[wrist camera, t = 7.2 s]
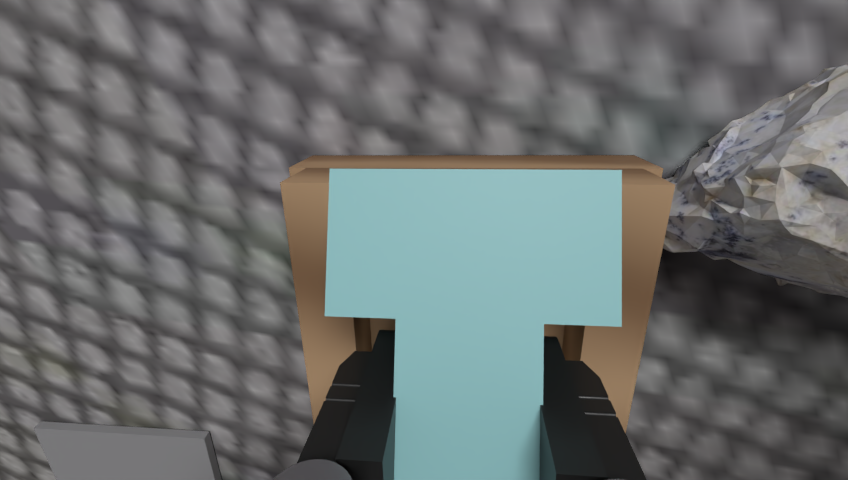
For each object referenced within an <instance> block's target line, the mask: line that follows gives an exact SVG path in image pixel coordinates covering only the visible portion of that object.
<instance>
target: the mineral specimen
mask: <svg viewBox="0 0 848 480" xmlns="http://www.w3.org/2000/svg"><path fill="white" fill-rule="evenodd" d="M708 143H709V147H706V148H704V149H701V150H700V151H699V152H697V153H696V154H695V155H694V156H692V157H691V158H690V159H689V160H687V162H686V163H685V164H684V165H683V166H682V167H680V168H678V169H677V170H676V173H675V175H674V177H671V178H668V179H665V180H667V181H669V182H671V183H673V184H675V189H674V194H673V199H672V204H671V209H670V214H669V219H668V224H667V229H666V234H665V239H664V244H663V248H664V249H666V250H668V251H670V252H696V251H699V252H700V253H702V254H704V255H706V256H708V257H710V258H712V259H713V260H719V259H729V260H731V261H732V262H734V263H736V264H738V265H740V266H743V267H745V268H747V269H750V270H752V271H755V272H757V273H760V274H763V275H766V276H770V277H774V278H775V279H776V281H777V283H778V285H785V284H787V283H791V284H795V285H799V286H803V287H807V288H810V289H813V290H815V291H816V292H818V293H825V294H833V295H840V296H843V297H846V298H848V65H843V66H838V67H833V68H828V69H824V70H823V71H822V72H821V73H820V74H819V75H818V76H817V77H816V78H815V79H814V80H812V81H810V82H807V83H806V84H804V85H802V86H801V87H799V88H797V89H796V90H794V91H792V92H790V93H788V94H786V95H785V96H783V97H779V98H775V99H771V100H770V101H768V102H767V103H766V104H764V105H763V106H762V107H760V108H759V109H757V110H756V111H754V112H752V113H750V114H748V115H746V116H745V117H743V118H741V119H737V120H733V121H731V122H730V123H729V124H728V125H727V126H726V127H725V128H724V129H723V130H722V131H721V132H720V133H718V134H717V135H715V136H714V137H712V138H711V139H709V140H708Z"/></svg>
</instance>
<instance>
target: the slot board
mask: <svg viewBox="0 0 848 480" xmlns="http://www.w3.org/2000/svg"><path fill="white" fill-rule="evenodd" d="M330 169H531V170H622V327H613V326H585V325H557V324H544V336H555V337H557V338H558V341H559V343H560V346H561V349H562V352H563V354H564V357H565V360H572V361H583V362H584V363H585V364H586V365H587V366H588V367H589V368H590V369H591V370H593V371H594V372H595V373H596V374H597V375H598V376H599V377H600V379H601V381H602V383H603V386H604V388H605V390H606V392H607V394H608V399H609V400H610V401H611V403H612V405H613V408H614V410H615V412H616V417H618V418H619V421H620V423H621V425H622V427H623V429H624V432H625V433H626V428H627V423H628V418H629V413H630V409H631V404H632V399H633V394H634V389H635V384H636V379H637V374H638V369H639V364H640V359H641V354H642V349H643V344H644V339H645V334H646V329H647V324H648V319H649V314H650V309H651V304H652V299H653V294H654V289H655V284H656V279H657V274H658V269H659V264H660V259H661V254H662V249H663V244H664V239H665V234H666V229H667V224H668V219H669V214H670V209H671V204H672V199H673V194H674V189H675V184H673V183H671V182H669V181H667V180H665V179H663V178H662V173H663V168H661V167H659V166H657V165H654V164H652V163H650V162H648V161H645V160H643V159H641V158H639V157H637V156H634V155H418V156H311V157H309V158H307V159H305V160H303V161H301V162H299V163H297V164H295V165H293V166H291V167H289V172H290V177H289V178H287V179H286V180H284V181H282V182H280V185H281V192H282V200H283V207H284V214H285V221H286V228H287V235H288V243H289V250H290V257H291V264H292V271H293V279H294V286H295V293H296V300H297V307H298V314H299V322H300V329H301V336H302V343H303V350H304V358H305V365H306V372H307V379H308V386H309V394H310V401H311V408H312V415H313V422H314V423H315V421H316V418H317V416H318V414H319V411H320V409H321V407H322V405H323V402H324V401H325V400H326V395H327V393H328V391H329V388H330V386H332V382H333V379H334V377H335V375H336V372H337V370H338V368H339V365H340V364H341V363H343V362H344V361H345V360H346V359H347V358H348V357H349V356H350V355H351V354H352V353H353V352H354V351H367V352H372V349H373V346H374V343H375V340H376V337H377V334H378V332H379V330H395V319H389V318H361V317H333V316H325V289H326V260H327V231H328V202H329V173H330Z"/></svg>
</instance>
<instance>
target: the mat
mask: <svg viewBox="0 0 848 480" xmlns="http://www.w3.org/2000/svg"><path fill="white" fill-rule="evenodd" d="M34 431H35V433H36V435H37V437H38V440H39V442H40V444H41V446H42V449H43V451H44V453H45V455H46V458H47V460H48V462H49V464H50V467H51V469H52V471H53V473H54V476H55V478H56V480H222V479H221V475H220V471H219V467H218V464H217V460H216V456H215V452H214V448H213V444H212V440H211V436H210V432H209V431H193V430H176V429H160V428H143V427H127V426H110V425H93V424H77V423H60V422H43V421H42V422H40V423H39V424H38V425H37V426H35V427H34Z"/></svg>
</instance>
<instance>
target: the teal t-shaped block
mask: <svg viewBox="0 0 848 480" xmlns="http://www.w3.org/2000/svg"><path fill="white" fill-rule="evenodd" d="M325 316H333V317H361V318H389V319H395V357H394V395H393V397H396V421H395V459H394V480H539V479H540V405H543V373H544V324H557V325H585V326H613V327H622V170H531V169H330V173H329V202H328V231H327V260H326V289H325Z"/></svg>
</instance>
